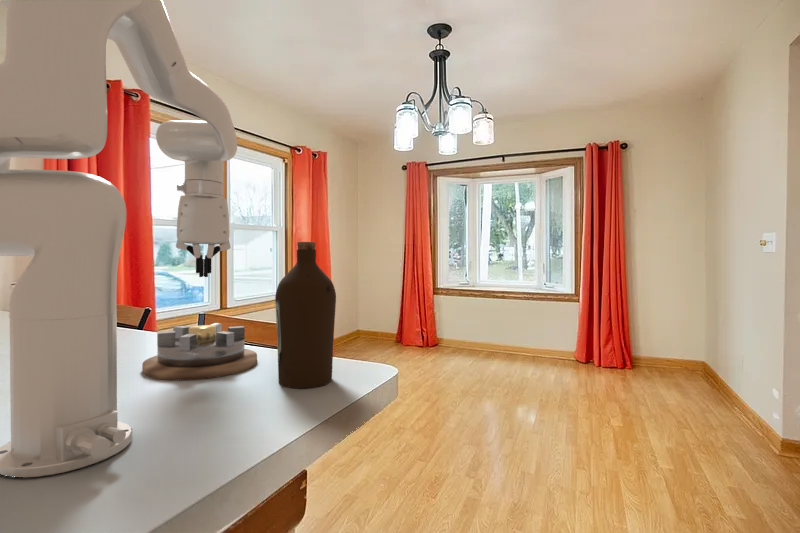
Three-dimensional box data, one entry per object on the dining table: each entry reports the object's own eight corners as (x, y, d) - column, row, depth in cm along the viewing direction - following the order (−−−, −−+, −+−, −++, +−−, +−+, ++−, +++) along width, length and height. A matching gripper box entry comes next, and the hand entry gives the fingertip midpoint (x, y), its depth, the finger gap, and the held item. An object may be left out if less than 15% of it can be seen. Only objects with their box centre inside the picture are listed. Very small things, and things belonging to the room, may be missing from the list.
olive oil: (338, 373, 83) (339, 243, 82) (331, 390, 72) (332, 241, 72) (282, 372, 83) (283, 242, 82) (267, 390, 72) (268, 240, 71)
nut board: (278, 360, 92) (278, 353, 92) (190, 386, 73) (190, 377, 73) (211, 349, 102) (211, 343, 102) (118, 370, 83) (118, 362, 83)
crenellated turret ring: (228, 366, 80) (228, 334, 80) (140, 366, 79) (140, 334, 79) (254, 348, 96) (254, 321, 96) (180, 348, 95) (180, 321, 95)
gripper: (162, 186, 86) (162, 277, 86) (241, 191, 92) (241, 277, 92) (167, 191, 93) (166, 276, 93) (240, 196, 99) (240, 276, 99)
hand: (203, 276), depth 93 cm, fingers closed
